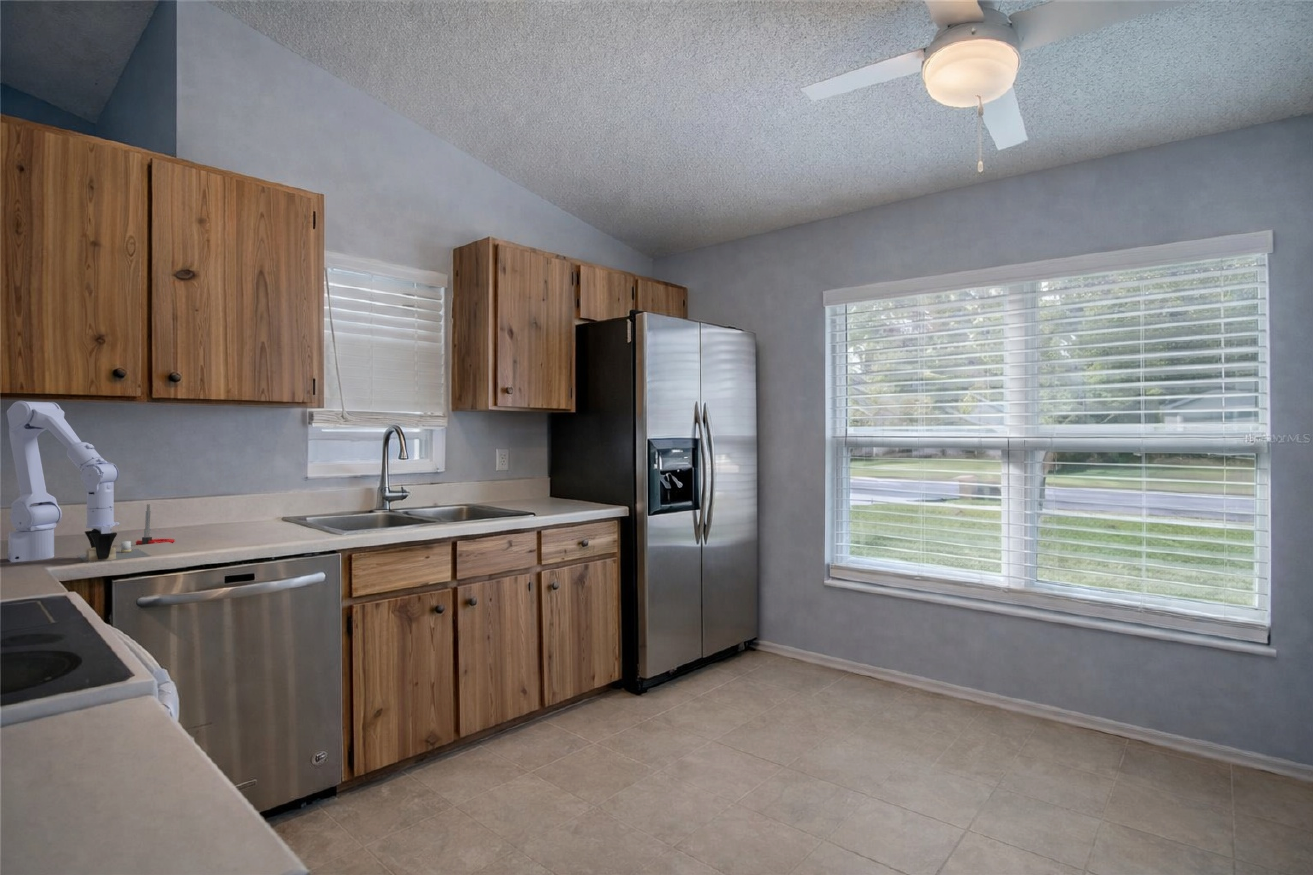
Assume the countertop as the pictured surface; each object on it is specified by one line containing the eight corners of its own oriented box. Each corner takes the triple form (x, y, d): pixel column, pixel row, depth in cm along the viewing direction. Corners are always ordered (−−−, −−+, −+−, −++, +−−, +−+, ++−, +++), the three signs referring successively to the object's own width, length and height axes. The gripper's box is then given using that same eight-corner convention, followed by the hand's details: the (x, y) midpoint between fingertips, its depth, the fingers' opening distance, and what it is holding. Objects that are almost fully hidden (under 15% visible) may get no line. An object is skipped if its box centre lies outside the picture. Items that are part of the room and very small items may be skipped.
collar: (89, 561, 184) (89, 550, 184) (85, 559, 188) (85, 548, 187) (115, 559, 188) (115, 548, 188) (111, 556, 192) (111, 545, 192)
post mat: (87, 566, 182) (87, 551, 182) (76, 558, 193) (76, 544, 193) (151, 559, 193) (151, 545, 193) (137, 552, 204) (137, 538, 204)
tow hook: (158, 541, 225) (132, 545, 216) (159, 502, 225) (134, 504, 216) (181, 542, 223) (156, 546, 214) (182, 503, 224) (157, 504, 215)
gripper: (124, 508, 186) (125, 558, 186) (113, 504, 195) (113, 551, 196) (91, 510, 180) (91, 562, 181) (81, 506, 190) (81, 555, 190)
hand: (100, 557), depth 188 cm, fingers closed on collar, 6 cm apart
